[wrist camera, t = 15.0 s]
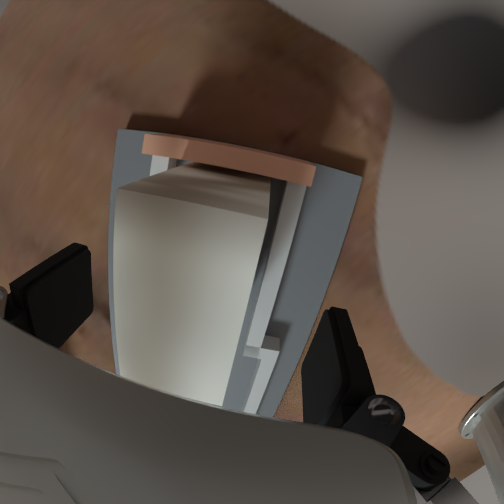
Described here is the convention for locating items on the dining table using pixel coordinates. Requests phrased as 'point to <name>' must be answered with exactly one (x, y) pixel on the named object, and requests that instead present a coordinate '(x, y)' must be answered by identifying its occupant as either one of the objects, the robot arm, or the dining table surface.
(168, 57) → the dining table surface
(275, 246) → the stepped grey tray
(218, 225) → the slider block
